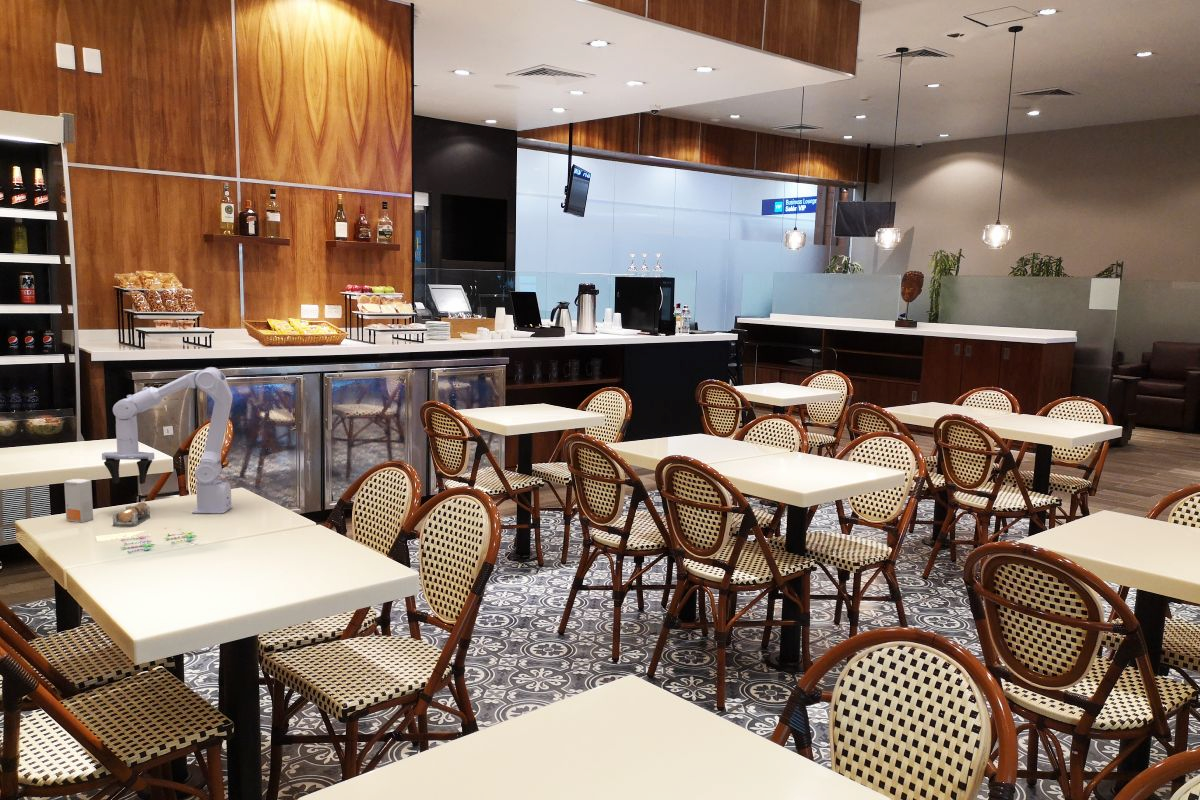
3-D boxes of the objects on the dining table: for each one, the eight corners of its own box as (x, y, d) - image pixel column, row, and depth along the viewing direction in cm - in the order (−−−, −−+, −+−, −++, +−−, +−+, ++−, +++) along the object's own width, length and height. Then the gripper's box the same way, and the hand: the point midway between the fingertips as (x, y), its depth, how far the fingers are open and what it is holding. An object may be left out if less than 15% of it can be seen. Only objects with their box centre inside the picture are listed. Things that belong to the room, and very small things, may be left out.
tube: (135, 510, 269) (138, 500, 269) (146, 514, 269) (149, 504, 269) (116, 521, 257) (119, 510, 257) (127, 524, 258) (130, 514, 257)
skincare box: (65, 521, 263) (63, 481, 261) (77, 517, 267) (75, 478, 265) (82, 523, 261) (79, 482, 260) (94, 519, 265) (92, 479, 264)
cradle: (150, 517, 269) (149, 505, 268) (135, 526, 259) (134, 514, 258) (128, 517, 268) (128, 505, 268) (113, 526, 258) (112, 514, 258)
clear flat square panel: (212, 523, 264) (212, 518, 264) (232, 552, 239) (232, 547, 239) (95, 537, 248) (95, 532, 248) (104, 569, 223) (103, 564, 223)
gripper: (95, 440, 265) (98, 485, 267) (146, 441, 266) (148, 486, 268) (107, 436, 272) (109, 480, 274) (156, 437, 273) (158, 481, 275)
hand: (129, 483), depth 271 cm, fingers open, 7 cm apart
